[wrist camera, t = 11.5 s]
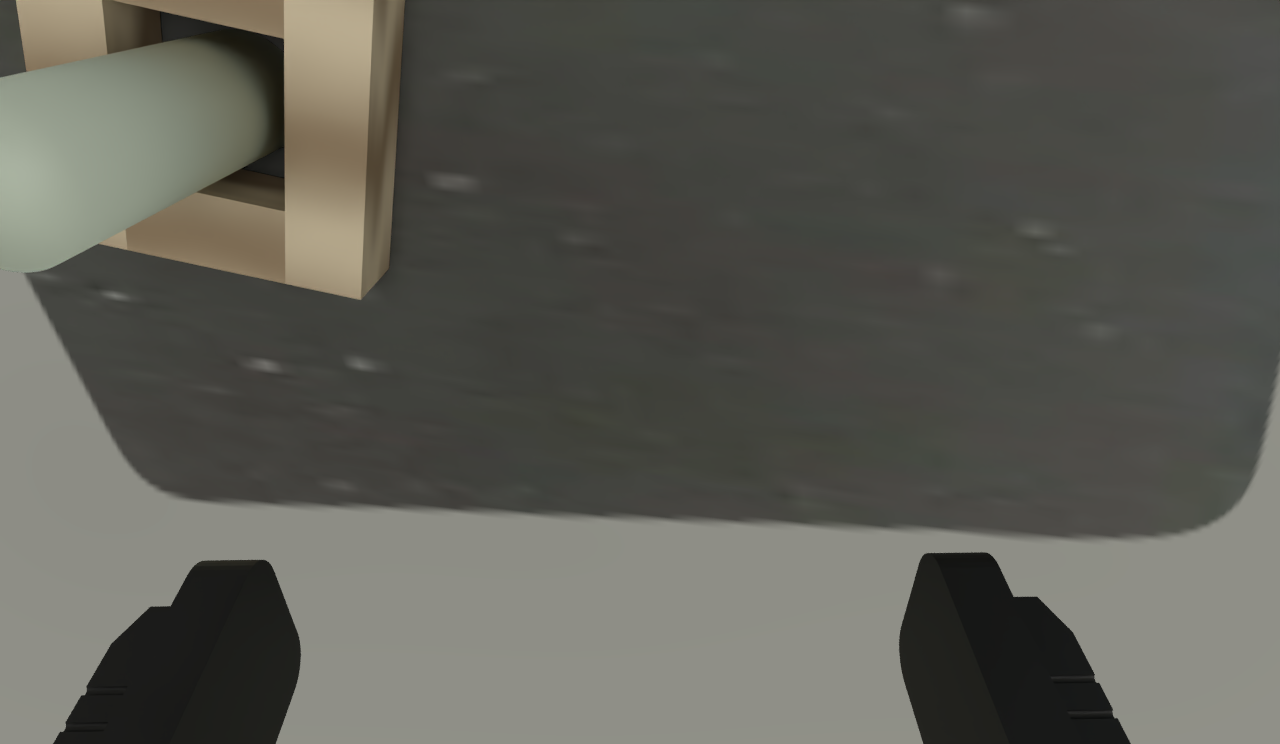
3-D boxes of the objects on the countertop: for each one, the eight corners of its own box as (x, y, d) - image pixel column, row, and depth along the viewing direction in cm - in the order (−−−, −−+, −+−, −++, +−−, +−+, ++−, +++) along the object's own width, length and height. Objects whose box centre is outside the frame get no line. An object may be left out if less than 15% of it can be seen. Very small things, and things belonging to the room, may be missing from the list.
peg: (182, 16, 29) (-124, 70, 18) (305, 43, 29) (72, 112, 18) (190, 139, 31) (-83, 252, 20) (304, 163, 31) (93, 288, 20)
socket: (67, -120, 27) (-3, -124, 24) (407, -43, 27) (375, -38, 25) (104, 207, 32) (50, 233, 30) (388, 268, 32) (360, 299, 30)
